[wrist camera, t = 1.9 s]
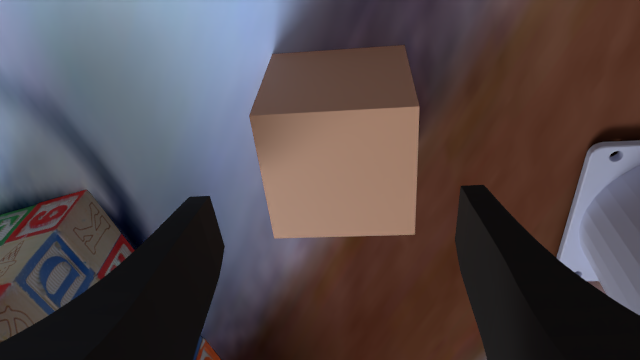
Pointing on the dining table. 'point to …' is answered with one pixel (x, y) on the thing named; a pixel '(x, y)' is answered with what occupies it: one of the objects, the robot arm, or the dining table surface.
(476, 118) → the dining table surface
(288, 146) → the tan cube
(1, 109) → the dining table surface
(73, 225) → the stack of blocks
